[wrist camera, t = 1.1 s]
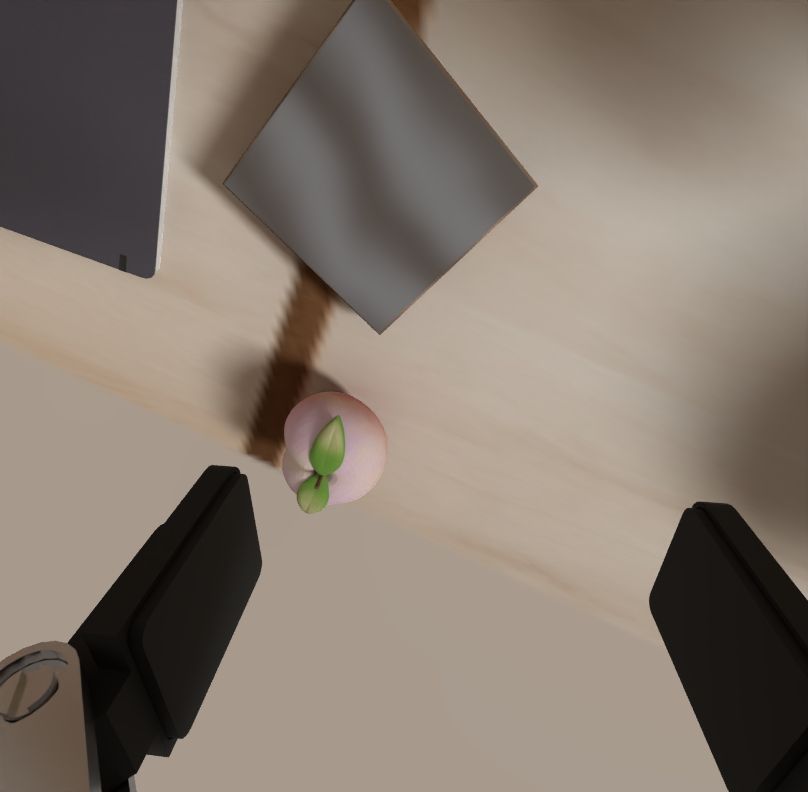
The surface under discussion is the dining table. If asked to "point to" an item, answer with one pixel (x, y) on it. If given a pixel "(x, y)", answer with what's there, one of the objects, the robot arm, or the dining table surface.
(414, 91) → the dock
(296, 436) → the decorative fruit
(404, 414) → the dining table surface
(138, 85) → the notebook
